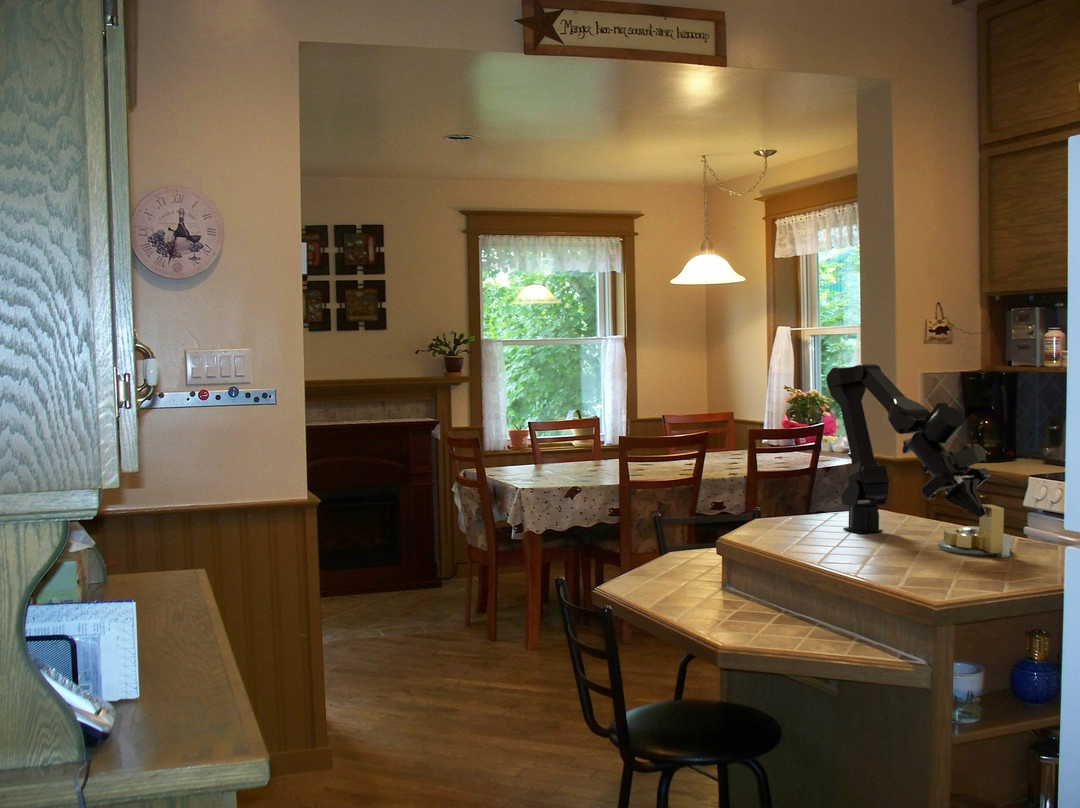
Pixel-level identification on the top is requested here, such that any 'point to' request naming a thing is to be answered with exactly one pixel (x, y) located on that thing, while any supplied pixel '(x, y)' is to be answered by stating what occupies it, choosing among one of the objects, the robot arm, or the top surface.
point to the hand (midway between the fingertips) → (982, 515)
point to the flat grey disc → (975, 551)
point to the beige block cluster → (981, 532)
